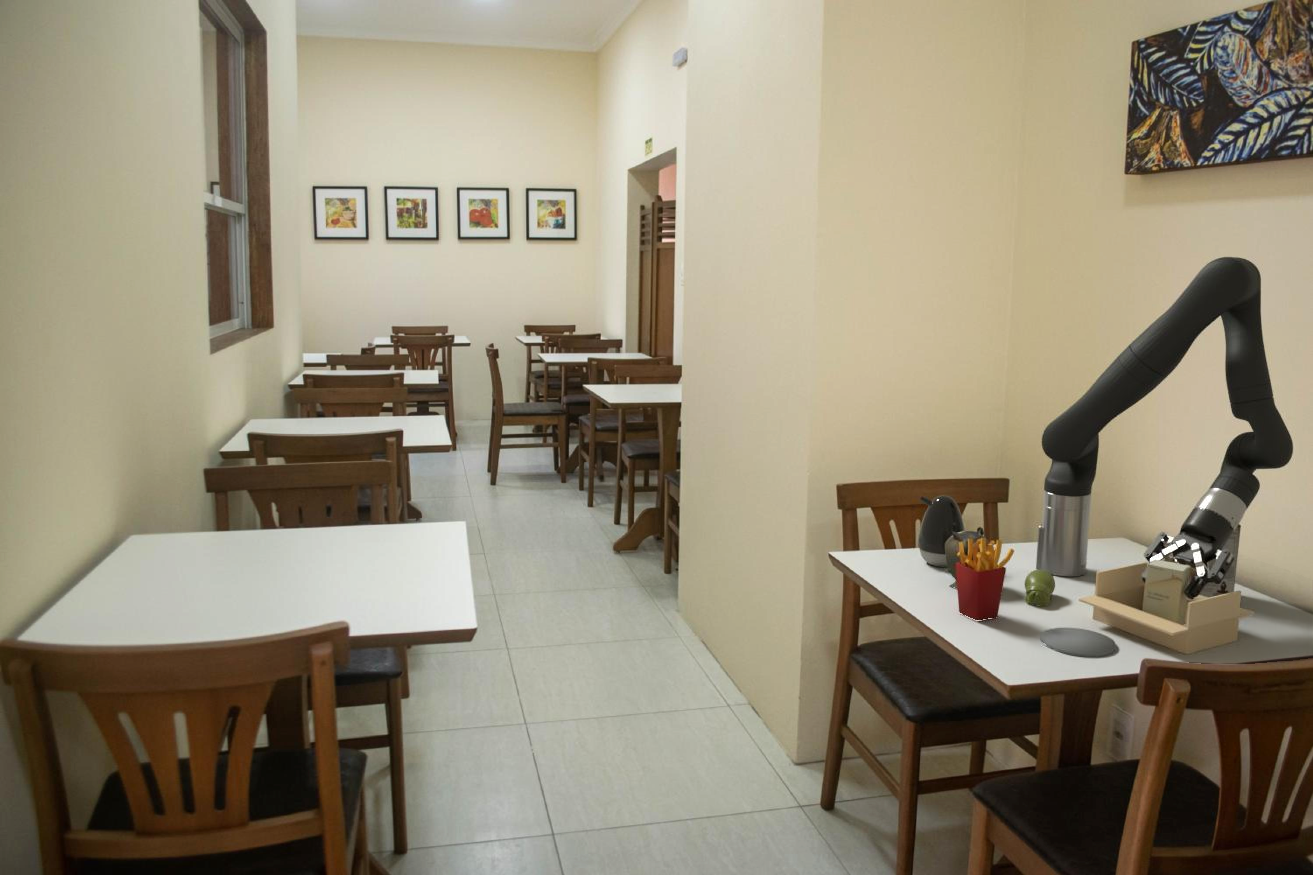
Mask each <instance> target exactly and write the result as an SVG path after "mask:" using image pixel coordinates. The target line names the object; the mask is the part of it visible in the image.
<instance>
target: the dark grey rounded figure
mask: <svg viewBox="0 0 1313 875" xmlns="http://www.w3.org/2000/svg"><path fill="white" fill-rule="evenodd" d="M919 500H920V501H921V502H922V503H923V504H925V505H926V506H928V507H927V509H926V511H925V513H924V515H923V517H922V521H921V524H920V527H919V533H918V539H917V547H918V550H919V552H920V556H921V557H922V559H923V560H924V561H925V562H926V563H928V564H930V565H932V566H935V567H941V568H943V567H944V568H946V567H947V568H948V565H947V562H946V555H945V543H946V541H947V540H948V539H949V538H950V537H951V536H952V532H951V531H953V532H957V533H958V532H962V531H966V529H965V528H966V527H965V523H964V520H963V516H962V513H961V510H960V508H959V506H958V504H957V502H956V501H955V500H954V498H952V497H951V496H948V495H945V494H944V495H937V496H936V497H934V498H933V500H932V499H929V498H927V497H926V496H923V495H921V496H920V498H919Z"/></svg>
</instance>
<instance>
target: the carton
mask: <svg viewBox="0 0 1313 875" xmlns="http://www.w3.org/2000/svg"><path fill="white" fill-rule="evenodd" d="M1148 563H1149V562H1148V561H1144V562H1138V563H1133V564H1130V565H1129V564H1128V565H1124V566H1120V567H1115V568H1109V569H1105V570H1099V571H1096V576H1095V587H1094V589H1095V590H1094V595H1091V596H1086V597H1080V598H1078V602H1080V603H1083V604H1087V605H1089V606H1091V607H1093V609H1092V610H1093V611H1092V619H1093V620H1095V621H1098V622H1100V623H1103V624H1106V625H1109V626H1112V627H1114V628H1116V629H1119V630H1121V631H1124V632H1127V633H1130V634H1131V635H1134V636H1137V637H1140V638H1142V639H1145V640H1148V641H1151V642H1153V643H1156V644H1158V645H1161V646H1163V647H1166V648H1169V649H1171V650H1173V651H1176V652H1179V653H1182V654H1184V655H1190V654H1194V653H1197V652H1199V651H1200V652H1201V651H1204V650H1208V649H1211V648H1215V647H1218V646H1223V645H1226V644H1227V645H1228V644H1229V643H1234V642H1237V641H1238V636H1239V635H1238V634H1239V626H1240V625H1239V622H1240V619H1242V618H1245V617H1250V616H1253V615H1255V611H1251V610H1248V609H1245V608H1241V600H1242V598H1241V597H1242V591H1241V590H1234V592H1230V593H1226V594H1222V595H1218V596H1214V597H1210V598H1208V597H1205V596H1202V595H1198V596H1197V597H1194V599H1189V598H1187V601H1186V610H1185V618H1184V626H1183V625H1180V624H1177V623H1174V622H1171V621H1169V620H1166V619H1163V618H1160V617H1157V616H1155V615H1152V614H1149V613H1146V612H1143V601H1144V592H1145V583H1144V582H1143V580H1142V574H1143V572H1144V571H1145V569H1146V568H1147V566H1148ZM1185 625H1186V626H1185ZM1233 641H1234V642H1233Z"/></svg>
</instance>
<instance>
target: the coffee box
mask: <svg viewBox="0 0 1313 875" xmlns="http://www.w3.org/2000/svg"><path fill="white" fill-rule="evenodd" d="M1241 528H1242V526H1241V524H1240V523H1239V525H1238V526H1237V527H1236V529H1235V530H1234V532H1233V534H1232V535H1231V536H1230V538H1229V539H1228V541H1227V542H1226V544H1225V545H1224V547H1223V548H1222V549H1221V551H1222V550H1223V549H1228V550H1229V551H1230V553H1231V554H1232V556H1233V557H1234V561H1233V563H1232V565H1231V566H1230V568H1229V570H1228V572H1227V573H1226V575H1225V577H1224V578H1223V580H1222V582H1221V583H1220V584H1215V583H1208V584H1206V585H1205V586H1204V588H1203V589H1202V591H1201V592H1200V594H1199V595H1202V596H1205V597H1208V598H1210V597H1214V596H1218V595H1222V594H1226V593H1230V592H1235V586H1236V585H1235V584H1236V576H1237V566H1238V565H1237V564H1238V558H1239V547H1240V537H1241V530H1242V529H1241ZM1216 560H1217V559H1216V558H1215V559H1213V560H1211V561H1209V562H1208V566H1209V572H1210V570H1211V569H1212V567H1213V565H1214V563H1215V562H1216ZM1194 576H1198V574H1197V569H1196V567H1195V568H1192V567H1190V575H1189V584H1190V582H1191V581H1192V579H1193V578H1194ZM1189 584H1188V585H1189Z"/></svg>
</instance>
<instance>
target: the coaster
mask: <svg viewBox="0 0 1313 875" xmlns="http://www.w3.org/2000/svg"><path fill="white" fill-rule="evenodd" d="M1041 640H1042V641H1041ZM1040 641H1041V643H1042V642H1043V643H1045V644H1046V645H1047V646H1049V647H1051V648H1053V649H1055V650H1057V651H1056V652H1058V651H1060V652H1059V653H1061V652H1062V654H1065V653H1066V654H1065V655H1069V656H1074V657H1084V658H1099V657H1105V656H1109V655H1112V654H1113V653H1114V652H1116V647H1117V645H1116V642H1115V640H1114V639H1112V638H1111V637H1109V636H1108V635H1105V634H1104V633H1103V634H1102V633H1100V632H1098V631H1094V630H1089V629H1085V628H1079V627H1053V628H1049V629H1046V630H1045V631H1043V632H1042V633H1041V634H1040ZM1043 643H1042V644H1043ZM1047 646H1046V647H1047ZM1049 647H1048V648H1049ZM1053 649H1052V650H1053ZM1055 650H1054V651H1055Z"/></svg>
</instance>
